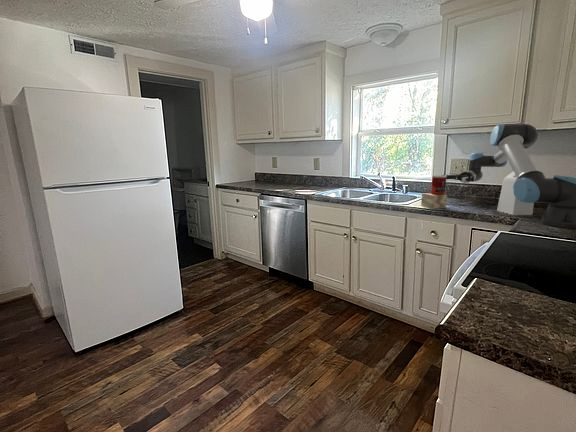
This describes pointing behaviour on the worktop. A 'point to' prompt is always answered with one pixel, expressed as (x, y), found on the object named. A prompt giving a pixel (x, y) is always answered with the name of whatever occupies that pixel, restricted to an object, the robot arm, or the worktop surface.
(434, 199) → the maple brick
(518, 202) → the milk
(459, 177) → the robot arm
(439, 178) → the canned food
